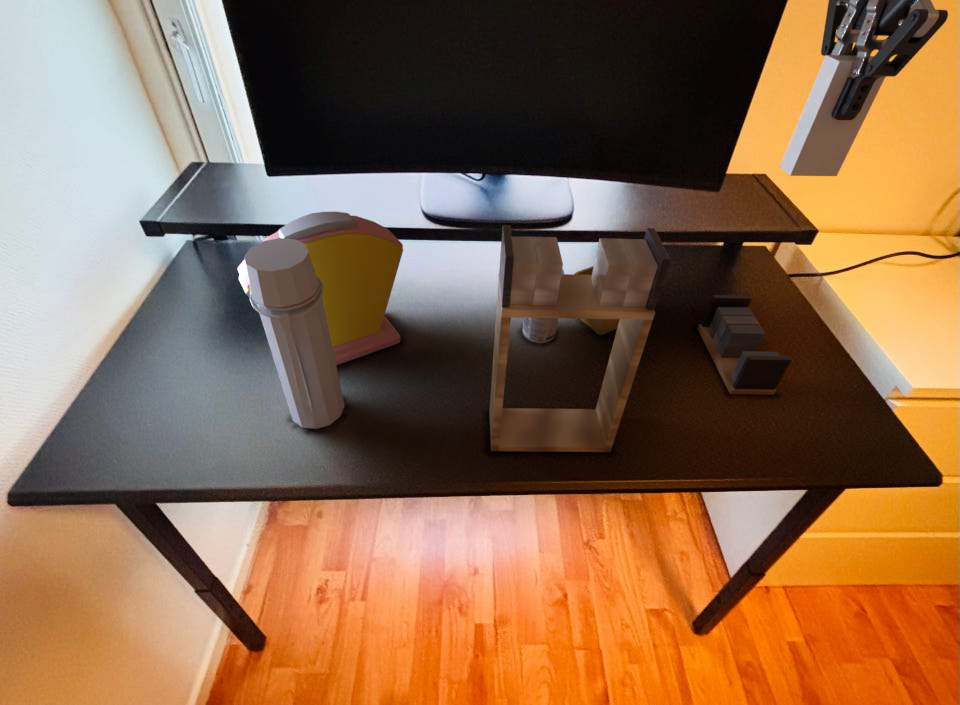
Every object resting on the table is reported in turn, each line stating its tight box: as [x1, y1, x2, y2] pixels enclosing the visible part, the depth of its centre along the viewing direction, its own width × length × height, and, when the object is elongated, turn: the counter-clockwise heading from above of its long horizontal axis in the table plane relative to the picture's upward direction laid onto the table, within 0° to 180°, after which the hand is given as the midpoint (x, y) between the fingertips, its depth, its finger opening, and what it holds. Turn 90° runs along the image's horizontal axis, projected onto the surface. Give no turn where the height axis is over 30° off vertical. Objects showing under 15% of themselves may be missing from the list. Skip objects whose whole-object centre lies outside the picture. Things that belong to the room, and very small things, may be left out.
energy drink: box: [522, 268, 565, 344], centre depth 83 cm, size 5×5×12 cm
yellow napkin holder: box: [237, 211, 404, 366], centre depth 76 cm, size 22×9×22 cm, turn 122°
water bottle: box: [243, 238, 345, 430], centre depth 64 cm, size 9×8×25 cm
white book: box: [779, 55, 886, 177], centre depth 54 cm, size 2×5×11 cm, turn 93°
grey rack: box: [697, 294, 793, 396], centre depth 81 cm, size 15×7×7 cm, turn 1°
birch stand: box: [489, 280, 654, 453], centre depth 64 cm, size 16×7×22 cm, turn 91°
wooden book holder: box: [498, 224, 671, 320], centre depth 54 cm, size 16×7×7 cm, turn 91°
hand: (833, 112), depth 54 cm, fingers closed on white book, 2 cm apart
